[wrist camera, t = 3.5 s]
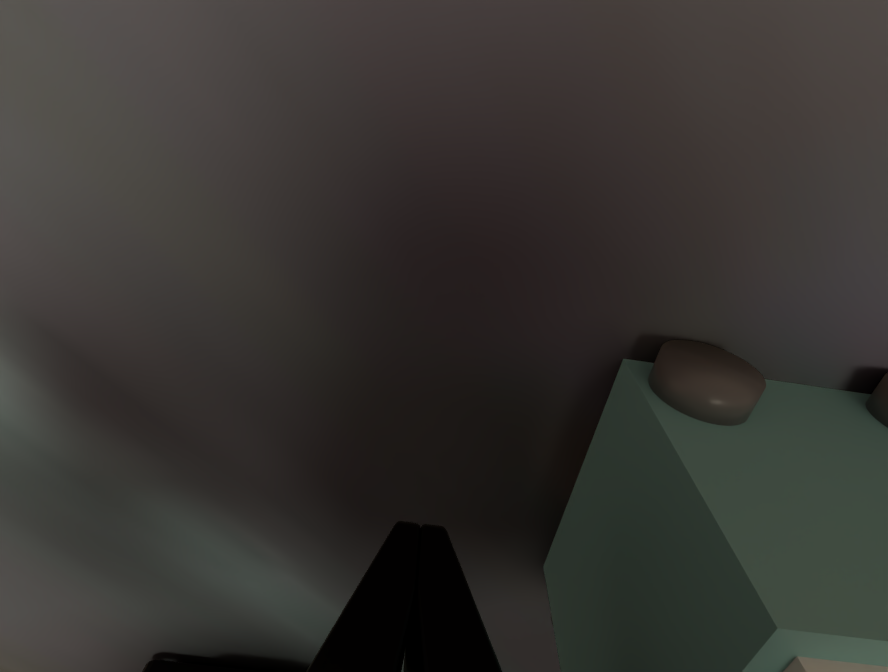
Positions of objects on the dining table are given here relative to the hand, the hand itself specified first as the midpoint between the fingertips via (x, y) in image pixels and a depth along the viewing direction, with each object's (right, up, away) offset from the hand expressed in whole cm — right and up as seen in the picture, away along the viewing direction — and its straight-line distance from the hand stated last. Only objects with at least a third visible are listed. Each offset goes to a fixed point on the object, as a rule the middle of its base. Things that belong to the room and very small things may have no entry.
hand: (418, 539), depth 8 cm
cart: (+6, 0, +2) cm, 7 cm away
